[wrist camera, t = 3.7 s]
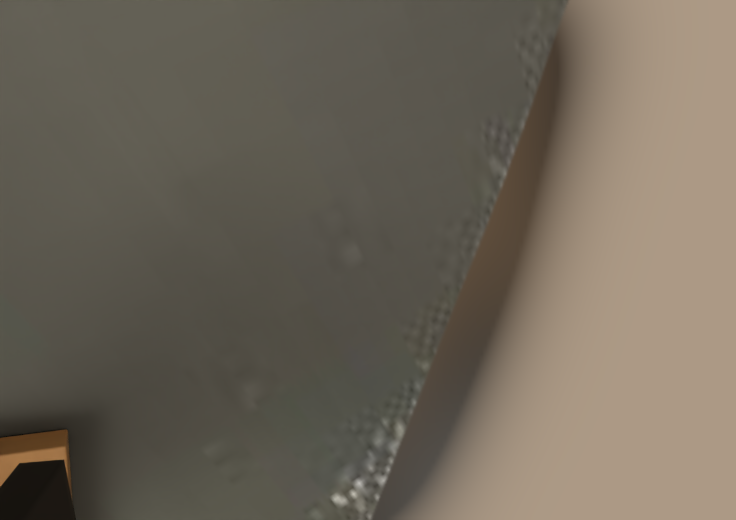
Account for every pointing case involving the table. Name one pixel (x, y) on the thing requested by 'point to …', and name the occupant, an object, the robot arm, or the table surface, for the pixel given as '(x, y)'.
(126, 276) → the table surface
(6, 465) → the cup rack
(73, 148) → the table surface
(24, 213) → the table surface
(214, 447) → the table surface
